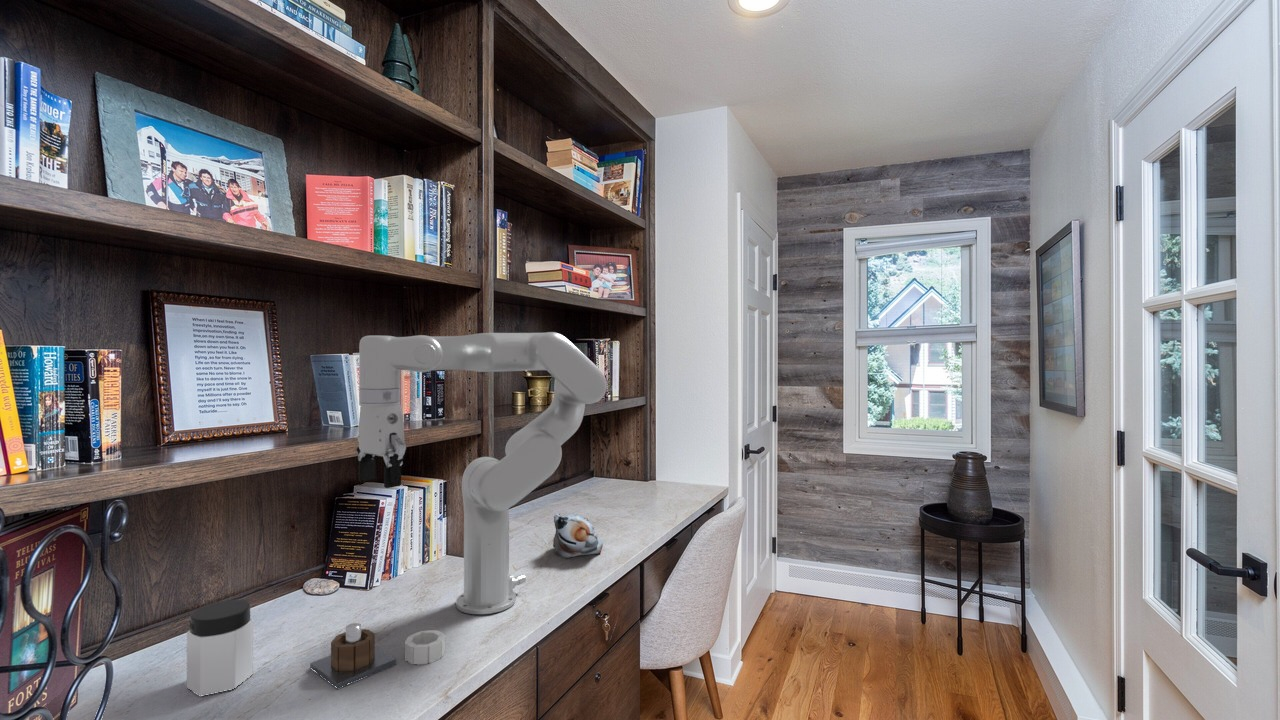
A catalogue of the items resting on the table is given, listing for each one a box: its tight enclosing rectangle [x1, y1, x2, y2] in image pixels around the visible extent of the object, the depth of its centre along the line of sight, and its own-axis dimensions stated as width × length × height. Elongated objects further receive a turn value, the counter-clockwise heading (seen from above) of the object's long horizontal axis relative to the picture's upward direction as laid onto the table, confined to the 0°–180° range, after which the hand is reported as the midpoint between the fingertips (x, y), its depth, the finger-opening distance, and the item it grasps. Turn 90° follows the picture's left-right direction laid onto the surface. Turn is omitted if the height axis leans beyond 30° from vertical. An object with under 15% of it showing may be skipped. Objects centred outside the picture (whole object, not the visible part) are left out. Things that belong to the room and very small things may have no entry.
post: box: [309, 622, 397, 689], centre depth 103 cm, size 10×10×7 cm
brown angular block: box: [330, 628, 376, 671], centre depth 103 cm, size 6×6×4 cm
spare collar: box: [404, 629, 446, 665], centre depth 107 cm, size 6×6×3 cm
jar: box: [186, 599, 254, 697], centre depth 98 cm, size 9×8×12 cm
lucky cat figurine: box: [552, 513, 604, 559], centre depth 162 cm, size 15×12×14 cm
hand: (379, 483), depth 119 cm, fingers open, 9 cm apart
